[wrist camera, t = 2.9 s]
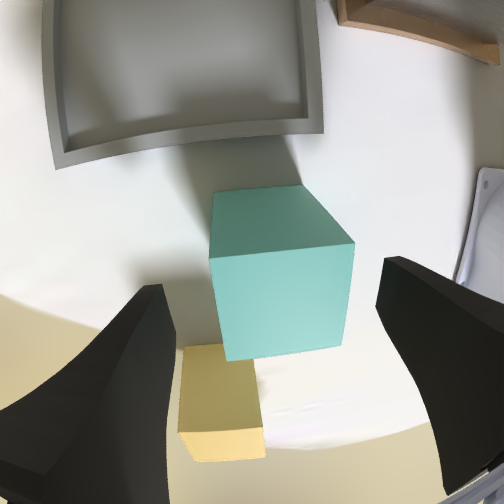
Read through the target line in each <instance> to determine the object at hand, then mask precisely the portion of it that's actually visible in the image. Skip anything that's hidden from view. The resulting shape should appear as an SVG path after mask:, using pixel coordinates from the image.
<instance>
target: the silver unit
mask: <svg viewBox="0 0 504 504" xmlns="http://www.w3.org/2000/svg"><path fill="white" fill-rule="evenodd" d="M336 5H337V13H338V22H339V26H347V27H354V28H361V29H367V30H373V31H379V32H384V33H389V34H394V35H398V36H403V37H407V38H411V39H415V40H419V41H422V42H426V43H430V44H433V45H436V46H440V47H443V48H446V49H449V50H452V51H455V52H458V53H461V54H463V55H466V56H469V57H472V58H474V59H477V60H479V61H482V62H484V63H487V64H492V65H500V58H499V49H498V44H504V0H336Z"/></svg>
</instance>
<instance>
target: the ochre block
mask: <svg viewBox="0 0 504 504" xmlns="http://www.w3.org/2000/svg"><path fill="white" fill-rule="evenodd" d="M178 434H179V436H180V438H181V439H182V441H183V443H184V444H185V446H186V447H187V449H188V451H189V452H190V454H191V456H192V457H193V459H194V460H195V462H212V461H229V460H243V459H254V458H263V457H265V456H266V455H265V444H264V434H263V425H262V418H261V411H260V404H259V397H258V390H257V382H256V375H255V368H254V361H253V359H247V360H237V361H227V360H226V355H225V350H224V344H223V343H217V344H206V345H193V346H184V353H183V364H182V375H181V388H180V401H179V416H178Z"/></svg>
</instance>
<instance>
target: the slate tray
mask: <svg viewBox="0 0 504 504" xmlns="http://www.w3.org/2000/svg"><path fill="white" fill-rule="evenodd" d="M42 71H43V87H44V98H45V107H46V116H47V123H48V130H49V137H50V143H51V149H52V154H53V160H54V165H55V170H58V169H62V168H65V167H69V166H73V165H77V164H81V163H85V162H89V161H94V160H98V159H103V158H107V157H112V156H117V155H121V154H127V153H132V152H137V151H143V150H148V149H154V148H160V147H166V146H173V145H180V144H187V143H194V142H202V141H211V140H220V139H230V138H241V137H253V136H268V135H287V134H324V125H323V98H322V78H321V63H320V49H319V37H318V26H317V17H316V7H315V0H43V12H42Z"/></svg>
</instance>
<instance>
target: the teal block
mask: <svg viewBox="0 0 504 504" xmlns="http://www.w3.org/2000/svg"><path fill="white" fill-rule="evenodd" d="M354 250H355V242H354V241H353V240H352V239H351V238H350V237H349V235H348V234H347V233H346V232H345V231H344V230H343V228H342V227H341V226H340V225H339V224H338V223H337V222H336V220H335V219H334V218H333V217H332V216H331V215H330V214H329V213H328V211H327V210H326V209H325V208H324V207H323V206H322V205H321V204H320V203H319V202H318V200H317V199H316V198H315V197H314V196H313V195H312V194H311V193H310V192H309V191H308V190H307V189H306V188H305V186H304V185H290V186H277V187H265V188H254V189H243V190H233V191H223V192H214V194H213V206H212V219H211V233H210V247H209V263H210V270H211V276H212V282H213V288H214V294H215V300H216V306H217V311H218V317H219V323H220V328H221V334H222V339H223V344H224V350H225V355H226V360H227V361H237V360H247V359H256V358H264V357H272V356H279V355H286V354H293V353H300V352H306V351H312V350H318V349H324V348H330V347H335V346H341V344H342V338H343V332H344V326H345V320H346V313H347V307H348V300H349V292H350V285H351V277H352V268H353V259H354Z"/></svg>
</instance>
